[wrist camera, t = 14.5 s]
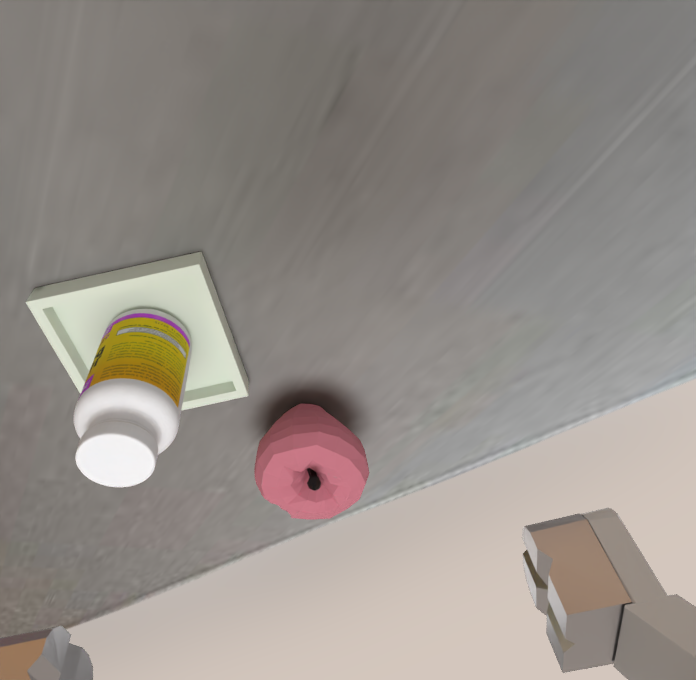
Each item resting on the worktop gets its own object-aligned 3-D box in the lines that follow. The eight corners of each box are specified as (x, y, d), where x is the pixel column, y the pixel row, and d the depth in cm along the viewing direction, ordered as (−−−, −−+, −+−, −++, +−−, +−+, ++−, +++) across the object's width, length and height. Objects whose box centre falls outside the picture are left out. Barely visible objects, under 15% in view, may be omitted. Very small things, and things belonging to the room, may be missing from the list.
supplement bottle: (104, 299, 44) (54, 416, 33) (196, 310, 45) (175, 426, 35) (105, 370, 47) (60, 495, 37) (189, 378, 49) (169, 501, 38)
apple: (236, 415, 53) (231, 504, 44) (309, 362, 50) (318, 446, 42) (306, 467, 57) (313, 556, 49) (376, 421, 55) (396, 506, 47)
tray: (201, 251, 43) (199, 264, 42) (248, 380, 51) (248, 395, 49) (34, 287, 43) (25, 302, 42) (105, 411, 51) (100, 427, 49)
